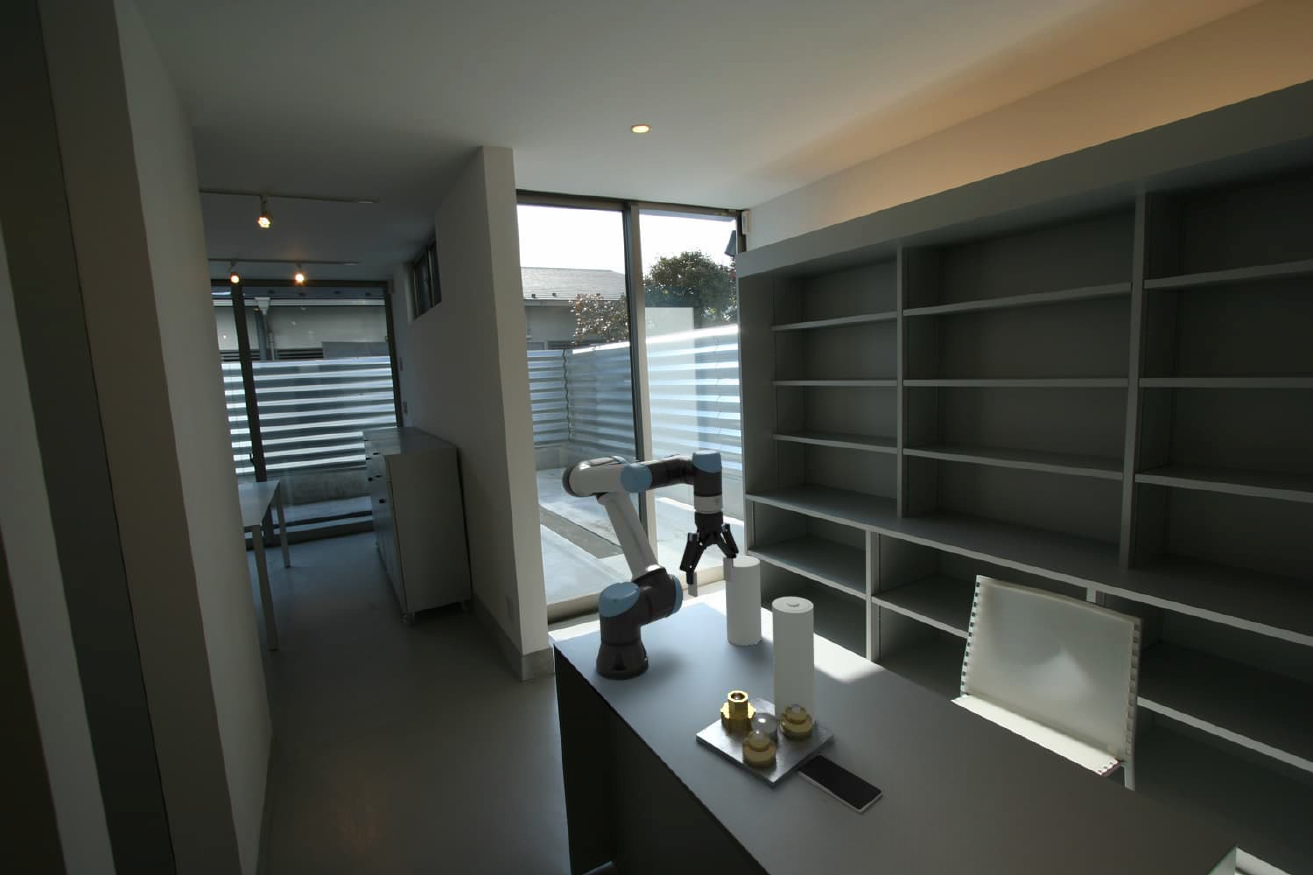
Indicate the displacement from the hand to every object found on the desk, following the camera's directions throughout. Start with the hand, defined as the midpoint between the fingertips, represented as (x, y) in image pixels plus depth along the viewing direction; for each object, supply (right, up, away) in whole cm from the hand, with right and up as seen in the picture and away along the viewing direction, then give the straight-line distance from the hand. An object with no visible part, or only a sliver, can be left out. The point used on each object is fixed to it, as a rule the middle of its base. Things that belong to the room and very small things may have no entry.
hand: (711, 588), depth 158 cm
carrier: (+10, -29, -22) cm, 38 cm away
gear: (+5, -27, -16) cm, 32 cm away
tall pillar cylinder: (+13, -23, +28) cm, 39 cm away
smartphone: (+23, -31, -36) cm, 53 cm away
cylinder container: (+19, -29, -15) cm, 37 cm away
